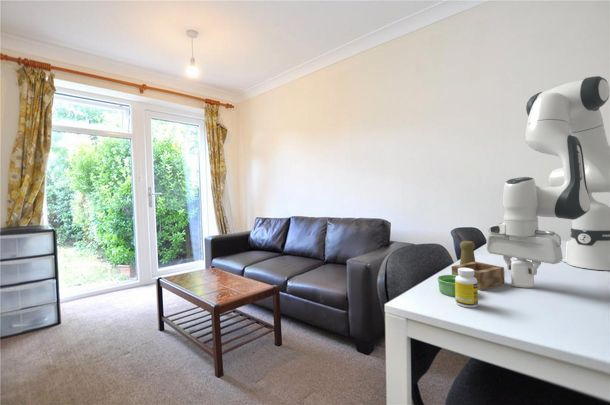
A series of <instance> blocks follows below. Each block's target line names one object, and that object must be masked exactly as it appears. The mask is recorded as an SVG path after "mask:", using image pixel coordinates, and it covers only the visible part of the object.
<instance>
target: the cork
mask: <svg viewBox="0 0 610 405" xmlns="http://www.w3.org/2000/svg"><path fill="white" fill-rule="evenodd" d="M459 248H460V249H461V252H460V261H459V265H460V264H465V263H470V262H476V257H475V252H474V251H475V248H476V244H475V242H474V241H471V240H464V241H460V244H459Z"/></svg>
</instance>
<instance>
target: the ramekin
mask: <svg viewBox="0 0 610 405" xmlns="http://www.w3.org/2000/svg"><path fill="white" fill-rule="evenodd" d="M456 276H458V275H452V274H443V275H438V277H437V278H436V279H437V282H438V289H439V292H440V294H442V295H445V296H448V297H453V298H456V297H455V278H456Z"/></svg>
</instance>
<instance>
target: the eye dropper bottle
mask: <svg viewBox="0 0 610 405" xmlns="http://www.w3.org/2000/svg"><path fill="white" fill-rule="evenodd" d="M533 265H534V264H532V261H531V260H526V259H521V258H516V259H514V260H511V270H510V274H511V275H510V278H511V285H512V286H513V287H515V288H523V289H524V288H528V289H531V288H534V287H535V275H531V274H528V272H529V271H528V269H529V268H532V267H533Z"/></svg>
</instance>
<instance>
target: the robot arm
mask: <svg viewBox="0 0 610 405" xmlns="http://www.w3.org/2000/svg"><path fill="white" fill-rule="evenodd" d="M609 98H610V86H609V83H608V81H607V79H605V78H604V77H602V76H600V75H599V76H598V75H597V76H595V75H594V76H589V77H585V78H584V79H580V80H574V81H569V82H567V83H566V82H565V83H563V84H561V85H558V86H555V87H552V88H549V89H548V90H545V91H540V92H538V93H535V94H534V95H532V96H531V97H530V98H529V99H528V101H527V102H526V107H525V108H526V114H527V116H528V118H527V122H526V126H525V132H524V133H525V134H524V135H525V136H524V139H525V143H526V144H527V146H528V147H529V148H531V149H532V150H534V151H536V152H539V153H542V154H545V155H546V154H547V155H551V156H556V157H559V158H560V159H561V163H562V167H558V168H554V169H553V170H552V171H551V172H550V174H549V176H548V184H549V186H538V185H536V182H535V179H534V178H533V177H529V176H525V177H524V176H523V177H520V176H519V177H515V178H510V179H508V180H507V181H505V182H504V185H503V191H502V208H503V212H504V213H503V214H504V215H503V218H502V221H503V222H501V223H498V224H495V225H490V226H488V227H487V232H488V234H487V236H486V243H485V244H486V251H487V252H488V254H492V255H499V256H502V259H503V261H504V262H505V264H506V266H507V268H506V269H507V270H509V271H511V262H512V260H511V259H512V258H515V259H517V258H521V259H526V260H527V261H531V262H532V264H533V267H532V268H529V269H528V271H529V272H528V274H531V275H534V276H536V275H537V273H538V270H537V269H539V267H540V266H541V264H542V263H545V264H550V265H551V264H552V265H557V264H559V263H561V262H564V263H566V264H568V265H570V266H573V267H577V268H583V269H587V270H596V271H610V206H609V205H608V204H605V203H603V202H600V201H598V200H596V199H595V198H594V196H593V194H594V193H610V145H609V141H608V138H607V134H606V129H605V124H604V119H603V115H602V113H601V109H600V108H601V107H603V106H604V105H605V104H606V103H607V101H608V100H609ZM592 193H593V194H592ZM538 217H540V218H558V219H565V220H571V228H570V231H569V233H570V237H571V239H569V240H568V241H566V248H565V257H563V251H562V246H561V244H562V238H561V237H562V236H561V235H560V234H558V233H557V232H555V231H549V230H547V231H546V230H540V229H539V218H538Z"/></svg>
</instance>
